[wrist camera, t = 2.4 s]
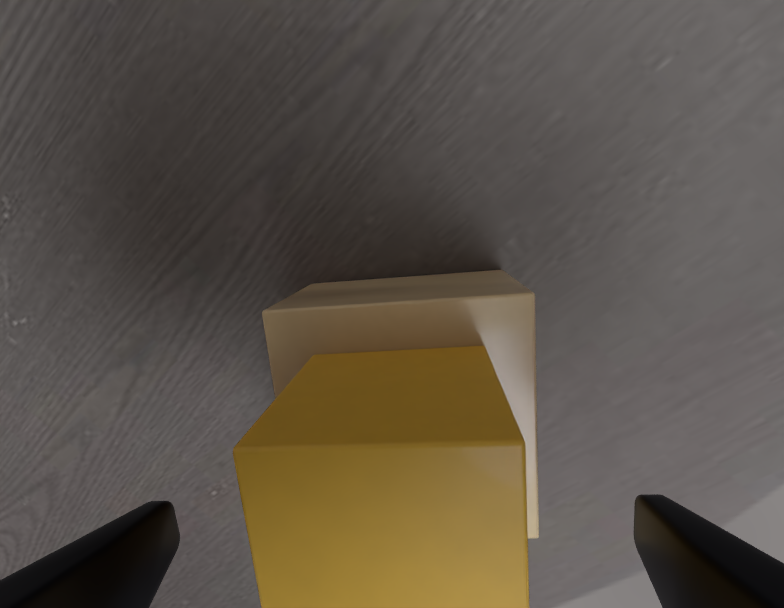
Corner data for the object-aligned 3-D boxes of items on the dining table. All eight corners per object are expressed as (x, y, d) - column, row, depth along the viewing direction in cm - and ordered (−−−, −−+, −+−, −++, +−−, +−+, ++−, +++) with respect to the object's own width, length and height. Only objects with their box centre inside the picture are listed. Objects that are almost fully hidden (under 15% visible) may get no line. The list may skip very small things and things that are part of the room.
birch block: (509, 449, 16) (539, 539, 11) (332, 453, 16) (296, 540, 12) (503, 269, 14) (535, 292, 10) (310, 283, 15) (259, 310, 11)
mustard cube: (492, 500, 11) (531, 686, 7) (332, 502, 12) (271, 677, 7) (485, 344, 10) (526, 440, 6) (312, 353, 11) (229, 449, 6)
